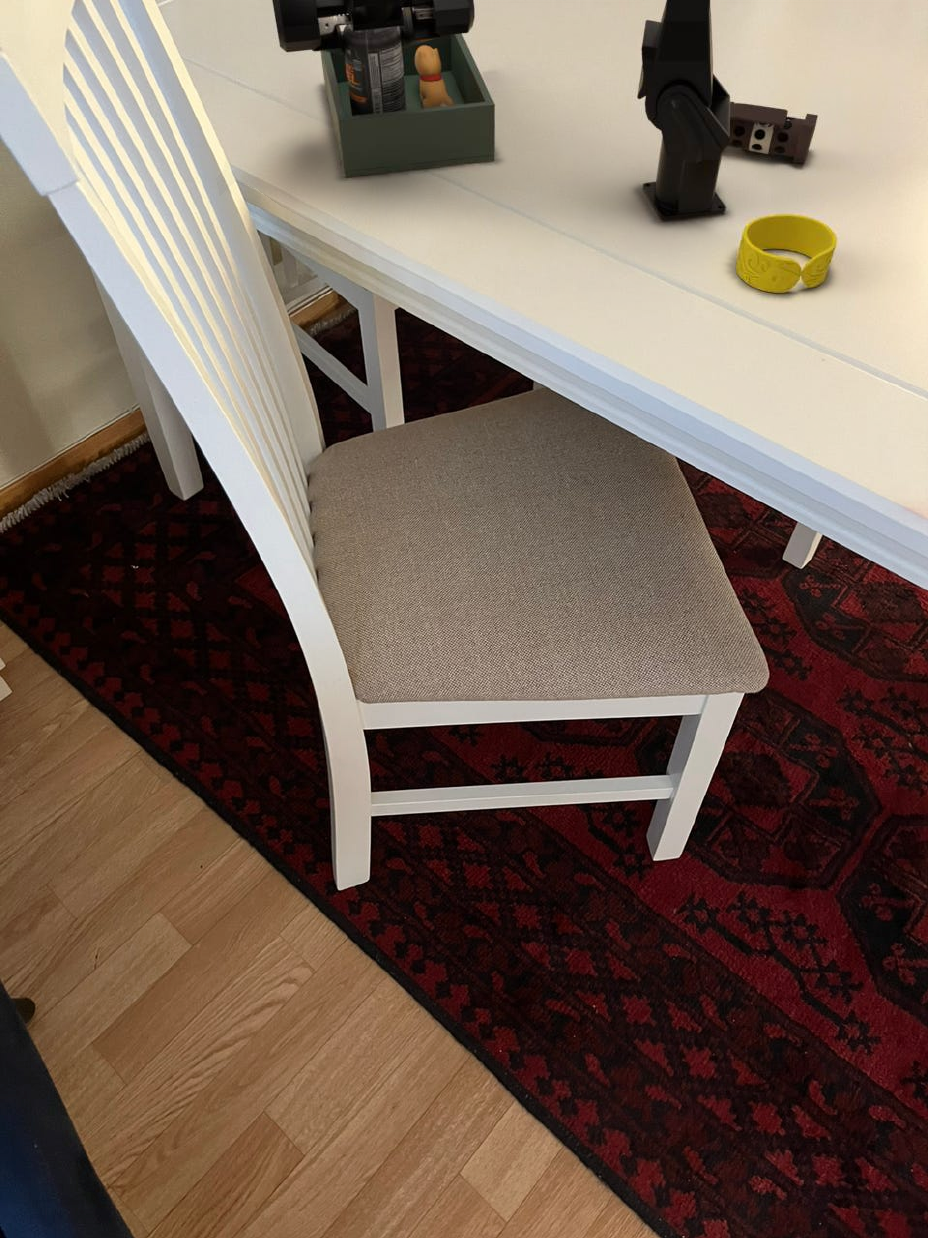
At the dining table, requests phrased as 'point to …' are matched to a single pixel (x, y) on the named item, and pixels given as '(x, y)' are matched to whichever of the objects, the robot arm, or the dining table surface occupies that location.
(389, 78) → the pill bottle
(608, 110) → the dining table surface
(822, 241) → the bracelet
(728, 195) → the dining table surface
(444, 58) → the green storage tray
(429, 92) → the toy
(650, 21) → the robot arm
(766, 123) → the brown bracket with holes
